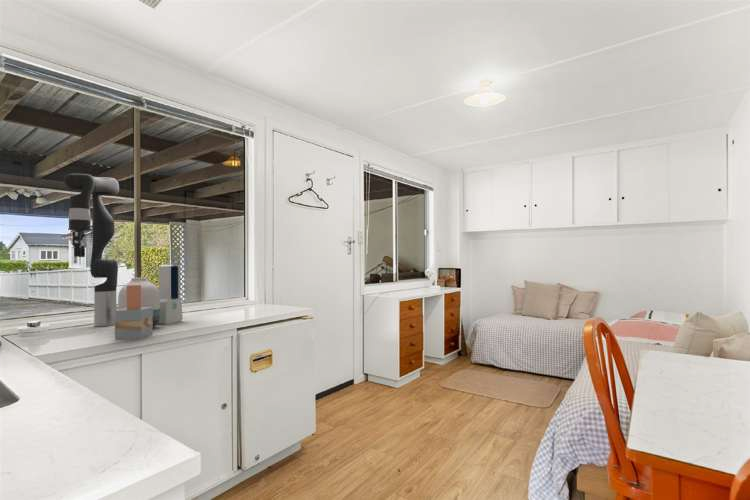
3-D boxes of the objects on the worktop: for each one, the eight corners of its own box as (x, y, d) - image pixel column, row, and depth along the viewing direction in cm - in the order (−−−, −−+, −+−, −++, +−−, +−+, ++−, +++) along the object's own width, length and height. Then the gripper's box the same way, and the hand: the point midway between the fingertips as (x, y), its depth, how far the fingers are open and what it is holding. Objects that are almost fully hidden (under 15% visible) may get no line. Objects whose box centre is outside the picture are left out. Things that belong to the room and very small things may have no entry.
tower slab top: (128, 317, 167) (128, 307, 167) (152, 316, 168) (152, 307, 168) (115, 320, 157) (115, 310, 157) (141, 319, 158) (141, 309, 158)
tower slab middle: (128, 326, 167) (128, 316, 167) (152, 325, 168) (152, 316, 168) (114, 330, 157) (114, 320, 157) (140, 329, 158) (140, 319, 158)
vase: (124, 327, 188) (124, 277, 189) (163, 324, 193) (163, 276, 194) (112, 333, 172) (112, 279, 173) (155, 330, 177) (155, 277, 178)
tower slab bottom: (127, 335, 167) (127, 326, 167) (152, 334, 168) (152, 325, 168) (115, 340, 157) (115, 330, 157) (141, 339, 158) (141, 329, 158)
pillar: (127, 308, 163) (127, 285, 164) (141, 307, 166) (141, 284, 166) (126, 309, 159) (126, 285, 159) (140, 308, 162) (140, 284, 162)
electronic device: (166, 324, 193) (165, 264, 194) (153, 324, 194) (152, 265, 195) (183, 321, 205) (182, 264, 206) (170, 320, 206) (170, 264, 207)
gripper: (87, 218, 163) (87, 256, 163) (93, 221, 176) (93, 257, 176) (64, 217, 160) (64, 256, 159) (72, 220, 173) (72, 257, 172)
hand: (79, 256), depth 168 cm, fingers open, 8 cm apart
